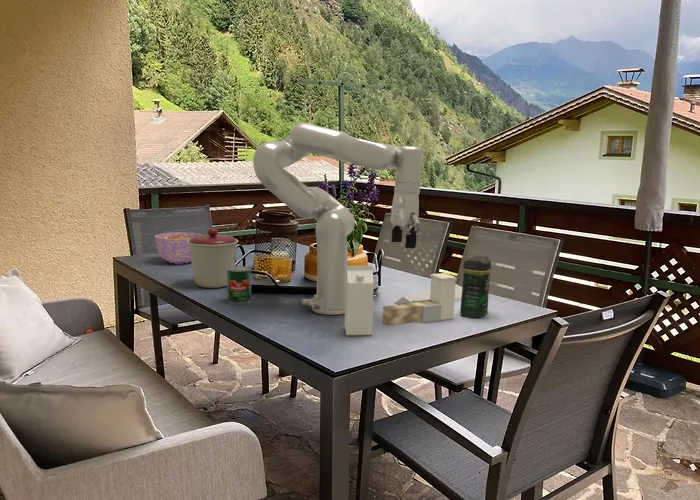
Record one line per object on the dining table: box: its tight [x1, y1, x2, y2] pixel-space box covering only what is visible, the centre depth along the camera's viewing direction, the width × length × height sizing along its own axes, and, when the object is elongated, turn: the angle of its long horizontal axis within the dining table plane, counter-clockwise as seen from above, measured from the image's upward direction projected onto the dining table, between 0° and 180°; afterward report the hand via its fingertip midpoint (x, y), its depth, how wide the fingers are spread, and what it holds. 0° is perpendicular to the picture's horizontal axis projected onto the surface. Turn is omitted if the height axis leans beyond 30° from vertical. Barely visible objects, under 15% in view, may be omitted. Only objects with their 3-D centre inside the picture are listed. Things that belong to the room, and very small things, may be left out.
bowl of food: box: [154, 231, 203, 265], centre depth 254 cm, size 20×20×12 cm
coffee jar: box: [459, 255, 492, 318], centre depth 186 cm, size 10×8×19 cm
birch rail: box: [382, 301, 433, 326], centre depth 179 cm, size 16×4×5 cm, turn 117°
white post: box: [412, 272, 458, 324], centre depth 182 cm, size 11×7×13 cm, turn 113°
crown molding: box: [393, 283, 462, 305], centre depth 204 cm, size 29×12×4 cm, turn 134°
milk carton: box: [344, 265, 375, 336], centre depth 166 cm, size 7×7×19 cm
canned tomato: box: [226, 265, 252, 304], centre depth 196 cm, size 8×8×11 cm
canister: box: [187, 227, 239, 289], centre depth 215 cm, size 18×18×21 cm
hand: (403, 244), depth 180 cm, fingers open, 9 cm apart
